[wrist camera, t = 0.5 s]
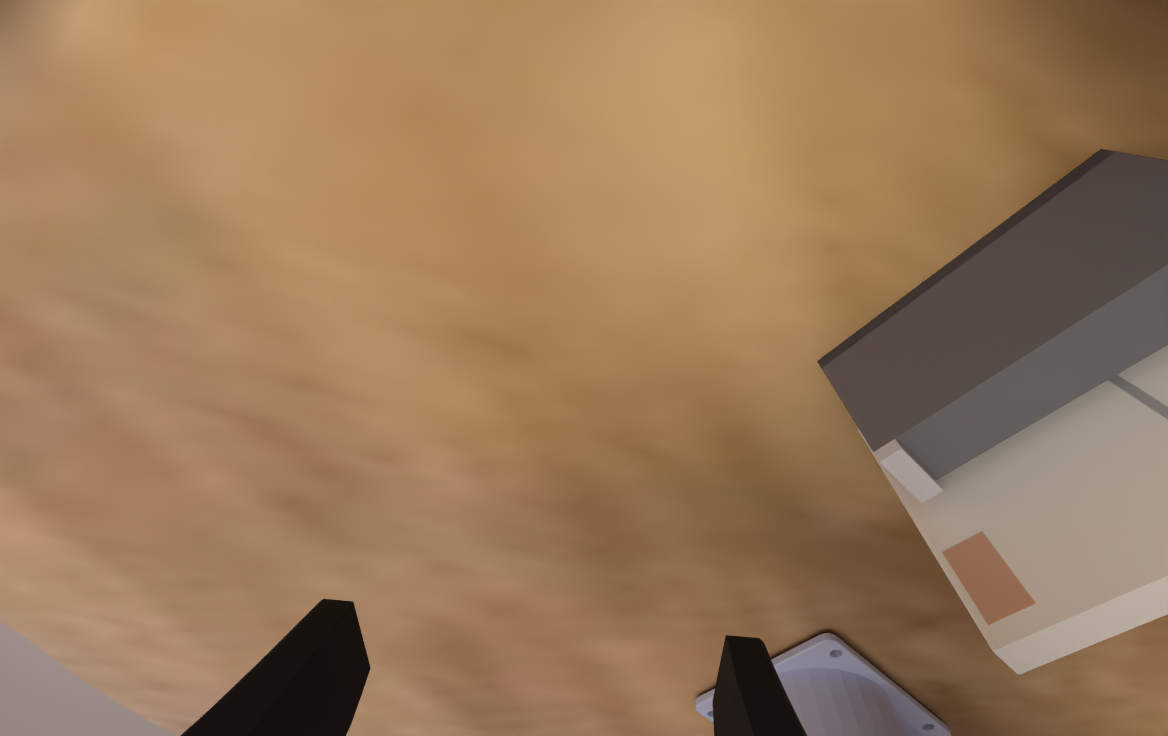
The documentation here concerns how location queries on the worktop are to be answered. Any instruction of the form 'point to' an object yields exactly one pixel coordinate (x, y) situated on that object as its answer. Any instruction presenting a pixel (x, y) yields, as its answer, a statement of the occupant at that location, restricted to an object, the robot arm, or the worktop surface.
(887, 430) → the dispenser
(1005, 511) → the beige flat plate
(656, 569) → the worktop surface
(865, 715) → the robot arm
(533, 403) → the worktop surface
